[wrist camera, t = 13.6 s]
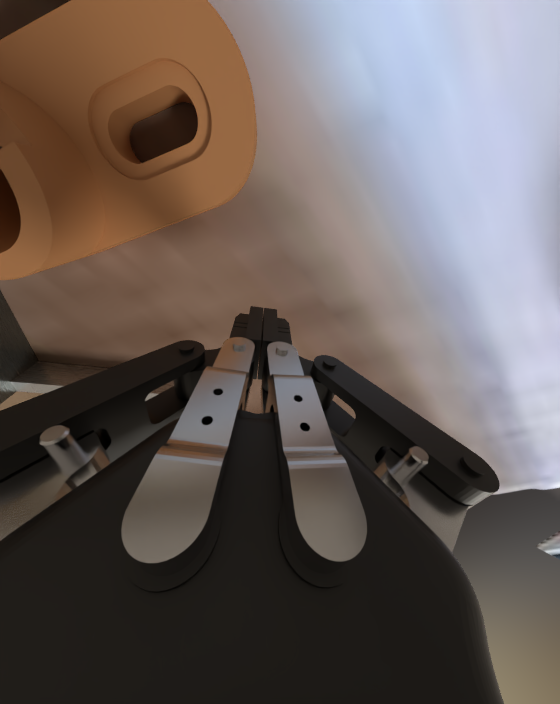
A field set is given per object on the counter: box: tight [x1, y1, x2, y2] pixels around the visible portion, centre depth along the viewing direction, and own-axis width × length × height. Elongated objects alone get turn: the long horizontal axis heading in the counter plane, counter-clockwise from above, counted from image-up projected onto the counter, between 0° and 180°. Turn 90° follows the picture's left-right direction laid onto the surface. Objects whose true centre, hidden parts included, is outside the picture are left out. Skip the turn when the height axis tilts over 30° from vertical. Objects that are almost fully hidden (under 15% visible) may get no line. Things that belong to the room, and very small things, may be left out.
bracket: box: [0, 0, 257, 280], centre depth 11 cm, size 18×8×7 cm, turn 107°
